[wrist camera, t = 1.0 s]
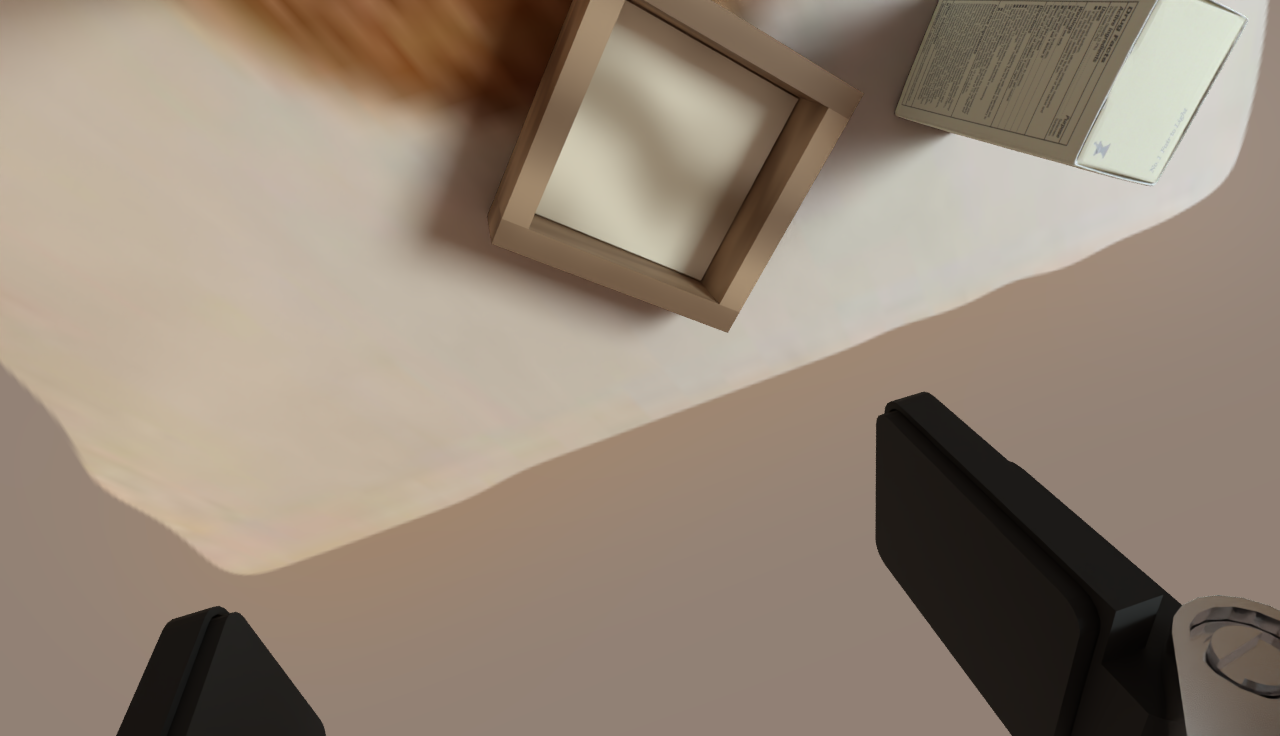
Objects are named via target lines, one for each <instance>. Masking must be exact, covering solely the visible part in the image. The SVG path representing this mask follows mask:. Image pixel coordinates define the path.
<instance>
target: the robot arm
mask: <svg viewBox="0 0 1280 736" xmlns="http://www.w3.org/2000/svg"><path fill="white" fill-rule="evenodd" d="M876 545H877V549H878V552H879V554H880V557H881V558H882V560H883V562H884V563H885V565H886V566H887V568H888V569H889V570H890V572H891V573H892V574H893V576H894V577H895V579H896V580H897V581H898V583H899V584H900V585H901V587H902V588H903V589H904V591H905V592H906V593H907V595H908V596H909V597H910V599H911V600H912V601H913V603H914V604H915V605H916V607H917V608H918V610H919V611H920V612H921V614H922V615H923V616H924V618H925V619H926V620H927V622H928V623H929V624H930V625H931V627H932V628H933V630H934V631H935V632H936V634H937V635H938V636H939V638H940V639H941V641H942V642H943V643H944V644H945V646H946V647H947V649H948V650H949V651H950V653H951V654H952V655H953V657H954V658H955V659H956V661H957V662H958V663H959V665H960V666H961V667H962V669H963V670H964V672H965V673H966V674H967V676H968V677H969V678H970V680H971V681H972V682H973V684H974V685H975V686H976V688H977V689H978V690H979V692H980V693H981V694H982V696H983V697H984V698H985V700H986V701H987V702H988V704H989V705H990V707H991V708H992V709H993V711H994V712H995V713H996V715H997V716H998V717H999V719H1000V720H1001V721H1002V723H1003V724H1004V725H1005V727H1006V728H1007V729H1008V731H1009V732H1010V734H1011V735H1012V736H1280V610H1277V609H1275V608H1273V607H1271V606H1269V605H1265V604H1262V603H1259V602H1255V601H1252V600H1248V599H1245V598H1239V597H1230V596H1220V595H1217V596H1208V597H1200V598H1196V599H1194V600H1192V601H1190V602H1188V603H1186V604H1184V605H1181V604H1180V603H1179V602H1178V601H1177V600H1175V599H1174V598H1173V597H1172V596H1171V595H1170V594H1168V593H1167V592H1166V591H1165V590H1164V589H1162V588H1161V587H1160V586H1159V585H1158V584H1157V583H1156V582H1154V581H1153V580H1152V579H1151V578H1150V577H1149V576H1147V575H1146V574H1145V573H1144V572H1142V571H1141V570H1140V569H1139V568H1138V567H1137V566H1136V565H1134V564H1133V563H1132V562H1131V561H1130V560H1129V559H1128V558H1126V557H1125V556H1124V555H1123V554H1122V553H1121V552H1119V551H1118V550H1117V549H1116V548H1115V547H1114V546H1112V545H1111V544H1110V543H1109V542H1108V541H1107V540H1105V539H1104V538H1103V537H1102V536H1101V535H1099V534H1098V533H1097V532H1096V531H1095V530H1094V529H1093V528H1091V527H1090V526H1089V525H1088V524H1087V523H1086V522H1084V521H1083V520H1082V519H1081V518H1080V517H1079V516H1077V515H1076V514H1075V513H1074V512H1073V511H1071V510H1070V509H1069V508H1068V507H1067V506H1066V505H1064V504H1063V503H1062V502H1061V501H1060V500H1059V499H1057V498H1056V497H1055V496H1054V495H1053V494H1052V493H1051V492H1049V491H1048V490H1047V489H1046V488H1045V487H1044V486H1042V485H1041V484H1040V483H1039V482H1037V481H1036V480H1035V479H1034V478H1033V477H1032V476H1031V475H1030V474H1028V473H1027V472H1026V471H1025V470H1024V469H1022V468H1021V467H1019V466H1018V465H1016V464H1015V463H1013V462H1010V461H1008V460H1007V459H1006V458H1005V457H1003V456H1002V455H1001V454H1000V453H999V452H998V451H996V450H995V449H994V448H993V447H992V446H991V445H989V444H988V443H987V442H986V441H985V440H983V439H982V438H981V437H980V436H979V435H978V434H977V433H976V432H975V431H973V430H972V429H971V428H970V427H968V425H966V424H965V423H964V422H963V421H962V420H960V418H958V417H957V416H956V415H955V414H954V413H953V412H951V411H950V410H949V409H948V408H947V407H946V406H944V405H943V404H942V403H941V402H940V401H939V400H937V399H936V398H935V397H934V396H933V395H931V394H930V393H927V392H921V393H918V394H915V395H911V396H908V397H905V398H901V399H898V400H895V401H891V402H889V403H887V405H886V407H885V413H884V414H882V415H880V416H878V418H877V423H876ZM116 736H326V734H325V729H324V726H323V724H322V722H321V720H320V719H319V717H318V716H317V715H316V713H315V712H314V711H313V709H312V708H311V707H310V705H309V704H308V703H307V701H306V700H305V699H304V697H303V696H302V695H301V693H300V692H299V691H298V689H297V688H296V687H295V686H294V684H293V683H292V681H291V680H290V679H289V677H288V676H287V674H286V673H285V672H284V670H283V669H282V668H281V666H280V665H279V664H278V662H277V661H276V660H275V658H274V657H273V656H272V655H271V653H270V652H269V650H268V649H267V648H266V646H265V645H264V644H263V642H262V641H261V640H260V638H259V637H258V636H257V634H256V633H255V632H254V630H253V629H252V628H251V626H250V625H249V624H248V623H247V621H246V620H245V618H244V617H243V616H242V615H241V614H240V613H237V612H234V613H229V612H228V611H227V610H226V609H225V608H222V607H220V606H216V607H212V608H208V609H205V610H202V611H198V612H195V613H192V614H189V615H185V616H182V617H179V618H175V619H172V620H171V621H170V622H168V623H167V624H166V626H165V627H164V629H163V631H162V633H161V635H160V637H159V640H158V642H157V644H156V646H155V649H154V651H153V653H152V655H151V658H150V660H149V662H148V665H147V667H146V669H145V671H144V674H143V676H142V678H141V681H140V683H139V685H138V687H137V690H136V692H135V694H134V697H133V699H132V701H131V703H130V706H129V708H128V710H127V713H126V715H125V717H124V720H123V722H122V724H121V726H120V728H119V731H118V733H117V735H116Z"/></svg>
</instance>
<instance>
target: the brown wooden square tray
mask: <svg viewBox="0 0 1280 736" xmlns="http://www.w3.org/2000/svg"><path fill="white" fill-rule="evenodd" d="M863 95H864V93H862V92H861V91H859V90H858V89H856V88H854V87H853V86H851V85H849V84H848V83H846V82H844V81H843V80H841V79H839V78H838V77H836V76H835V75H833V74H831V73H830V72H828V71H826V70H825V69H823V68H821V67H820V66H818V65H817V64H815V63H813V62H812V61H810V60H808V59H807V58H805V57H803V56H802V55H800V54H799V53H797V52H795V51H794V50H792V49H790V48H789V47H787V46H785V45H784V44H782V43H780V42H779V41H777V40H776V39H774V38H772V37H771V36H769V35H767V34H766V33H764V32H762V31H761V30H759V29H758V28H756V27H754V26H753V25H751V24H749V23H748V22H746V21H744V20H743V19H741V18H739V17H738V16H736V15H735V14H733V13H731V12H730V11H728V10H726V9H725V8H723V7H721V6H720V5H718V4H717V3H715V2H713V1H712V0H573V1H572V3H571V6H570V9H569V11H568V14H567V16H566V19H565V21H564V24H563V26H562V29H561V31H560V34H559V36H558V39H557V41H556V44H555V46H554V49H553V51H552V54H551V57H550V59H549V62H548V64H547V67H546V69H545V72H544V74H543V77H542V79H541V82H540V84H539V87H538V89H537V92H536V94H535V97H534V99H533V102H532V104H531V107H530V110H529V112H528V115H527V117H526V120H525V122H524V125H523V127H522V130H521V132H520V135H519V137H518V140H517V142H516V145H515V147H514V150H513V152H512V155H511V157H510V160H509V163H508V165H507V168H506V170H505V173H504V175H503V178H502V180H501V183H500V185H499V188H498V190H497V193H496V195H495V198H494V200H493V203H492V205H491V208H490V210H489V213H488V216H487V218H488V225H489V231H490V237H491V243H492V244H493V245H496V246H498V247H501V248H504V249H506V250H509V251H512V252H514V253H517V254H519V255H522V256H525V257H527V258H530V259H533V260H535V261H538V262H541V263H543V264H546V265H549V266H551V267H554V268H557V269H559V270H562V271H565V272H567V273H570V274H573V275H575V276H578V277H581V278H583V279H586V280H589V281H591V282H594V283H597V284H599V285H602V286H605V287H607V288H610V289H613V290H615V291H618V292H621V293H623V294H626V295H629V296H631V297H634V298H637V299H639V300H642V301H645V302H647V303H650V304H653V305H655V306H658V307H660V308H663V309H666V310H668V311H671V312H674V313H676V314H679V315H682V316H684V317H687V318H690V319H692V320H695V321H698V322H700V323H703V324H706V325H708V326H711V327H714V328H716V329H719V330H722V331H724V332H727V333H728V331H729V330H730V328H731V326H732V324H733V323H734V321H735V319H736V317H737V316H738V314H739V312H740V310H741V308H742V307H743V305H744V303H745V301H746V300H747V298H748V296H749V294H750V293H751V291H752V289H753V287H754V286H755V284H756V282H757V280H758V279H759V277H760V275H761V273H762V272H763V270H764V268H765V266H766V265H767V263H768V261H769V259H770V258H771V256H772V254H773V252H774V251H775V249H776V247H777V245H778V244H779V242H780V240H781V238H782V237H783V235H784V233H785V231H786V230H787V228H788V226H789V224H790V223H791V221H792V219H793V217H794V216H795V214H796V212H797V210H798V209H799V207H800V205H801V203H802V202H803V200H804V198H805V196H806V195H807V193H808V191H809V189H810V188H811V186H812V184H813V182H814V181H815V179H816V177H817V175H818V174H819V172H820V170H821V168H822V167H823V165H824V163H825V161H826V160H827V158H828V156H829V154H830V153H831V151H832V149H833V147H834V146H835V144H836V142H837V140H838V139H839V137H840V135H841V133H842V132H843V130H844V128H845V126H846V124H847V123H848V121H849V119H850V117H851V116H852V114H853V112H854V110H855V109H856V107H857V105H858V103H859V102H860V100H861V98H862V96H863Z"/></svg>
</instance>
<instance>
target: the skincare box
mask: <svg viewBox="0 0 1280 736" xmlns="http://www.w3.org/2000/svg"><path fill="white" fill-rule="evenodd" d="M1247 22H1248V17H1247V16H1245V15H1243V14H1241V13H1239V12H1237V11H1235V10H1233V9H1231V8H1229V7H1227V6H1225V5H1223V4H1221V3H1219V2H1216V1H1214V0H939V2H938V4H937V7H936V9H935V11H934V14H933V16H932V19H931V21H930V24H929V26H928V29H927V31H926V33H925V36H924V38H923V41H922V44H921V46H920V49H919V51H918V54H917V56H916V59H915V61H914V63H913V66H912V68H911V71H910V73H909V76H908V78H907V81H906V83H905V86H904V89H903V92H902V95H901V97H900V100H899V102H898V105H897V108H896V111H895V115H896V116H898V117H901V118H904V119H907V120H911V121H914V122H917V123H920V124H924V125H927V126H930V127H934V128H937V129H941V130H944V131H948V132H951V133H954V134H958V135H961V136H965V137H969V138H972V139H976V140H980V141H983V142H987V143H990V144H994V145H997V146H1001V147H1004V148H1008V149H1011V150H1015V151H1018V152H1022V153H1026V154H1029V155H1033V156H1037V157H1040V158H1044V159H1048V160H1051V161H1055V162H1058V163H1062V164H1066V165H1069V166H1073V167H1076V168H1080V169H1083V170H1087V171H1091V172H1095V173H1098V174H1102V175H1106V176H1109V177H1113V178H1117V179H1121V180H1125V181H1129V182H1133V183H1137V184H1142V185H1146V186H1153V185H1155V184H1156V183H1157V182H1158V180H1159V178H1160V177H1161V175H1162V173H1163V171H1164V170H1165V168H1166V167H1167V165H1168V163H1169V161H1170V160H1171V158H1172V157H1173V155H1174V153H1175V151H1176V149H1177V148H1178V146H1179V144H1180V142H1181V141H1182V139H1183V137H1184V135H1185V133H1186V132H1187V130H1188V128H1189V127H1190V125H1191V123H1192V121H1193V119H1194V118H1195V116H1196V114H1197V113H1198V111H1199V109H1200V107H1201V105H1202V103H1203V102H1204V100H1205V98H1206V97H1207V95H1208V94H1209V90H1210V89H1211V87H1212V86H1213V84H1214V82H1215V80H1216V79H1217V77H1218V75H1219V73H1220V71H1221V70H1222V68H1223V66H1224V64H1225V62H1226V60H1227V59H1228V57H1229V55H1230V53H1231V52H1232V50H1233V48H1234V46H1235V44H1236V43H1237V41H1238V39H1239V37H1240V35H1241V34H1242V32H1243V30H1244V28H1245V27H1246V25H1247Z"/></svg>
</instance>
